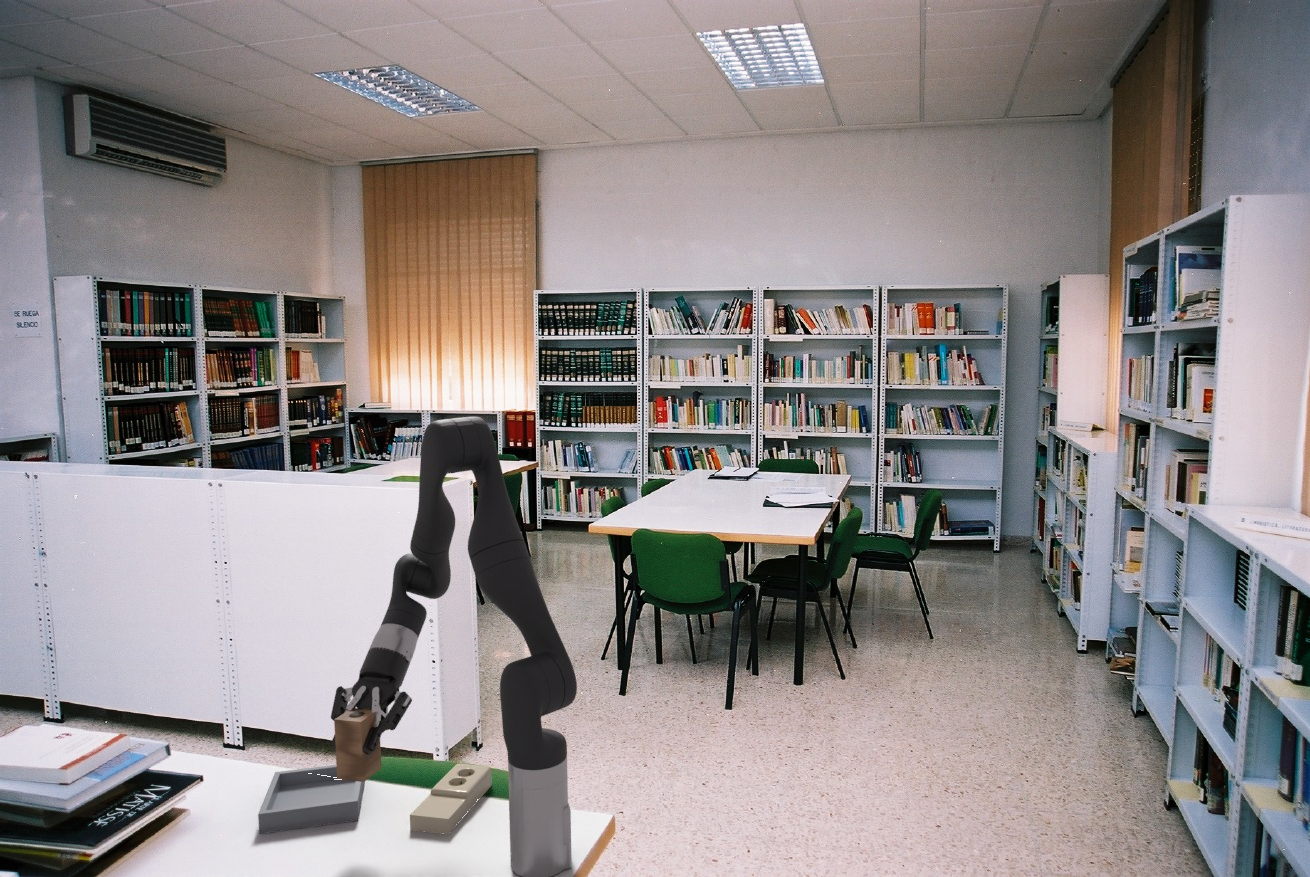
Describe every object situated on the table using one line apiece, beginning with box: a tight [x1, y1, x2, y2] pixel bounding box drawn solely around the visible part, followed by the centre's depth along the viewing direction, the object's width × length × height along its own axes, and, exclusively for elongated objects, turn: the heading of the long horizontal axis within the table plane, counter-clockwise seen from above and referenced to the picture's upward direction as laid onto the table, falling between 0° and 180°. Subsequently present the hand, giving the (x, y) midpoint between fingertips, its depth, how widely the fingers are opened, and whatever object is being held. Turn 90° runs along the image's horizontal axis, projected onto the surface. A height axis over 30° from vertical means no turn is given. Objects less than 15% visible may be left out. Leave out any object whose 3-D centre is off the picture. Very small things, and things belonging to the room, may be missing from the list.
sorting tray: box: [257, 764, 366, 835], centre depth 153 cm, size 16×16×4 cm
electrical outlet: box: [409, 763, 493, 835], centre depth 151 cm, size 7×4×18 cm
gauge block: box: [333, 707, 382, 782], centre depth 139 cm, size 5×5×10 cm
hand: (351, 750), depth 138 cm, fingers closed on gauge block, 5 cm apart
